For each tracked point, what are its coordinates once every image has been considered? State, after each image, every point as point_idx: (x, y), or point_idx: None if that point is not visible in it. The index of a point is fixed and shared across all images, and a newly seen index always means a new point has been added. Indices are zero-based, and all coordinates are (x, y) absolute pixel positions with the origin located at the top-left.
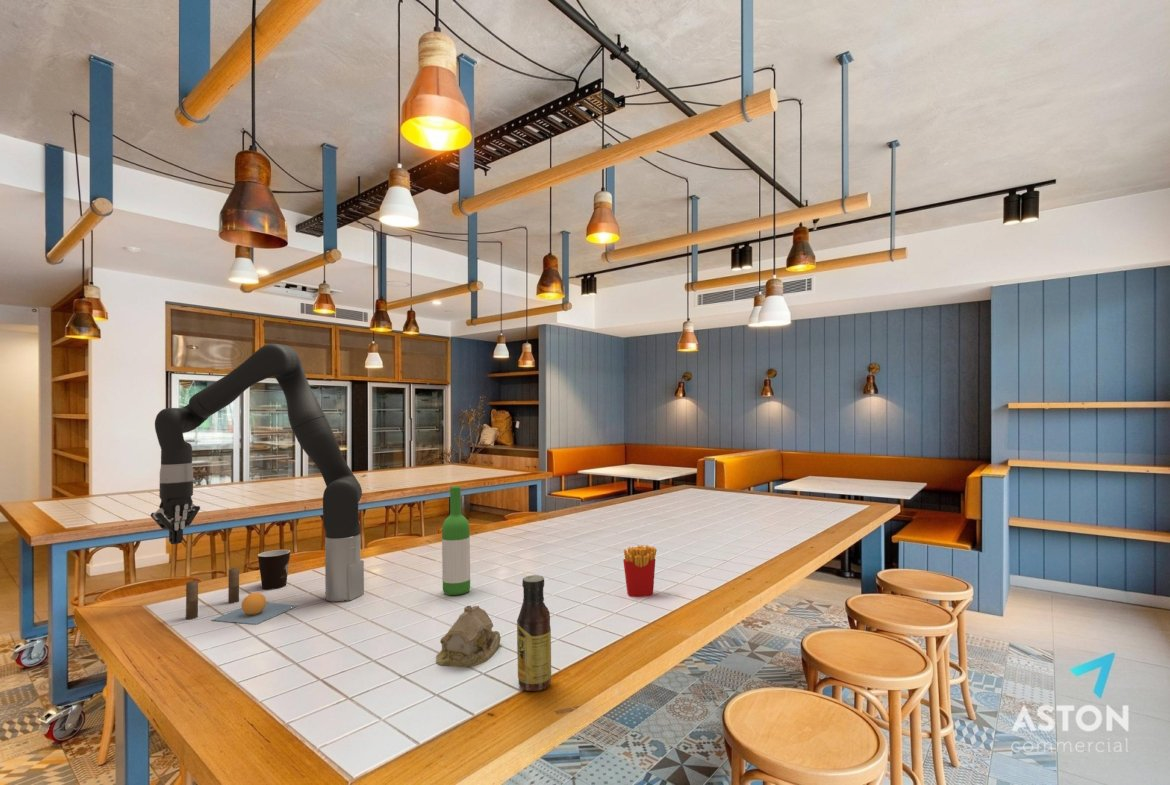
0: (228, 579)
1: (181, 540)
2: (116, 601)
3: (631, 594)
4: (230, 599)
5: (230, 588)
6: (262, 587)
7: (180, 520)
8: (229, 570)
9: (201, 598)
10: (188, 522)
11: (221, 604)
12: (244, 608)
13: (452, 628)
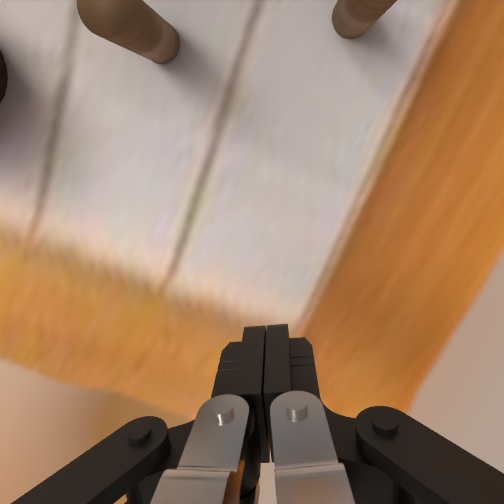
0: (147, 34)
1: (244, 333)
2: None
3: None
4: (174, 33)
5: (161, 22)
6: (2, 88)
7: (235, 490)
8: (132, 6)
9: (181, 219)
10: (137, 445)
11: (200, 63)
12: None
13: None
